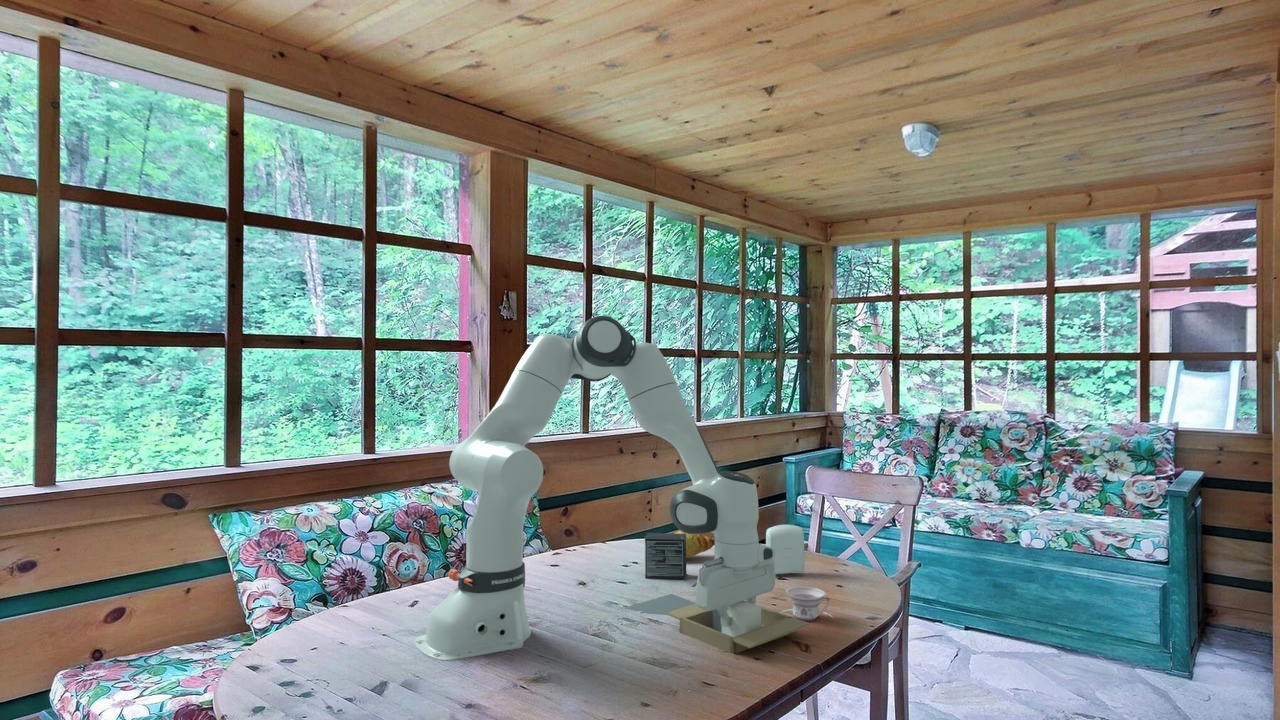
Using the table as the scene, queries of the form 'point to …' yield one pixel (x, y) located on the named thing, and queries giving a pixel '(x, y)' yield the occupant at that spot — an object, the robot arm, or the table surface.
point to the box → (739, 618)
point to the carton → (775, 627)
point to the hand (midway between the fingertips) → (736, 622)
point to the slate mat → (661, 605)
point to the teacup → (806, 602)
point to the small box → (665, 556)
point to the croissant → (697, 543)
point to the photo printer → (787, 548)
